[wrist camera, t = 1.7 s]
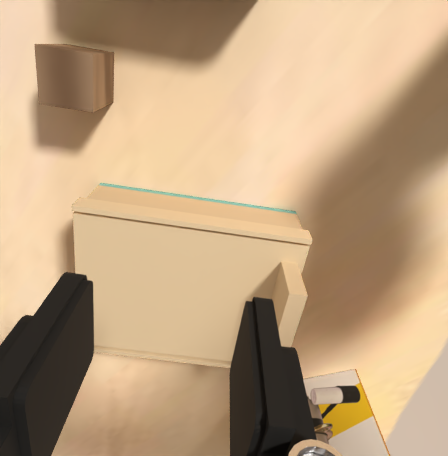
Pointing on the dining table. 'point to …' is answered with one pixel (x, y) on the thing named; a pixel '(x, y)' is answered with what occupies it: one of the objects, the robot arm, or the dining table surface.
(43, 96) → the walnut block
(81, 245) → the lid
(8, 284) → the dining table surface
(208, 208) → the base
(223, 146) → the dining table surface
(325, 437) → the packaging box
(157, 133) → the dining table surface
